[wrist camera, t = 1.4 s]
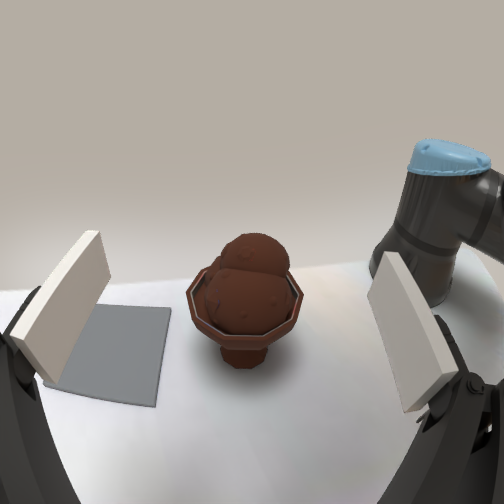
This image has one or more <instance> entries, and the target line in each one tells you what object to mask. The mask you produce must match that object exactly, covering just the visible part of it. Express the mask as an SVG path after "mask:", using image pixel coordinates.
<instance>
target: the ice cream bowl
mask: <svg viewBox="0 0 504 504" xmlns="http://www.w3.org/2000/svg"><path fill="white" fill-rule="evenodd" d="M289 263H290V262H289V256H288V254H287V252H286V250H285V248H284V247H283V246H282V245H281V244H280V243H279V242H278V241H277V240H275V239H273V238H272V237H270V236H267V235H265V234H260V233H249V234H242V235H241V236H239V237H237V238H236V239H235V240H233V241H232V242H230V243H228V244H227V245H226V246H225V247H224V249H223V250H222V252H221V256H218V257H217V258H216V259H215V261H214V262H213V263H212V265H211V266H209V267H206V268H204V269H202V270H201V271H200V272H199V273H198V275H197V276H196V278H195V279H194V281H193V282H192V284H191V285H190V287H189V288H188V289H187V291H186V296H187V300H188V305H189V309H190V313H191V318H192V320H193V322H194V324H195V326H196V328H197V329H198V330H200V331H201V332H202V333H203V334H205V335H206V336H208V337H209V338H211V339H212V340H214V341H215V342H217V343H218V344H220V345H221V348H220V350H221V353H222V356H223V359H224V361H225V362H227V363H228V364H230V365H231V366H233V367H234V368H237V369H252V368H253V367H255V366H257V365H258V364H260V363H262V362H263V361H264V359H265V356H266V353H267V350H268V349H267V347H266V346H268V345H270V344H271V343H273V342H275V341H276V340H278V339H279V338H281V337H283V336H284V335H286V334H287V333H288V332H290V331H291V330H292V329H293V327H294V325H295V323H296V322H297V318H298V314H299V311H300V307H301V303H302V300H303V296H304V294H303V292H302V291H301V289H300V287H299V286H298V284H297V283H296V281H295V280H294V278H293V276H292V275H291V273H290V272H289V271H288V270H289V267H290V264H289Z"/></svg>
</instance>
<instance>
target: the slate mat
mask: <svg viewBox="0 0 504 504" xmlns="http://www.w3.org/2000/svg"><path fill="white" fill-rule="evenodd" d="M170 315H171V308H170V307H143V306H123V305H107V304H96V305H95V307H94V308H93V310H92V312H91V314H90V316H89V318H88V320H87V322H86V324H85V325H84V327H83V329H82V331H81V333H80V335H79V337H78V339H77V341H76V343H75V345H74V348H73V350H72V352H71V354H70V356H69V358H68V360H67V362H66V365H65V367H64V369H63V371H62V374H61V376H60V378H59V380H58V383H57V385H56V384H53V383H50V382H48V381H45V380H44V381H43V385H44V386H46V387H50V388H53V389H57V390H61V391H65V392H69V393H73V394H77V395H82V396H86V397H91V398H96V399H101V400H107V401H113V402H119V403H125V404H132V405H139V406H147V407H155V405H156V398H157V391H158V384H159V378H160V371H161V365H162V359H163V353H164V347H165V342H166V336H167V331H168V325H169V320H170Z"/></svg>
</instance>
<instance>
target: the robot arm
mask: <svg viewBox="0 0 504 504" xmlns="http://www.w3.org/2000/svg"><path fill="white" fill-rule="evenodd" d="M407 169H408V173H407V177H406V181H405V185H404V189H403V192H402V196H401V200H400V203H399V207H398V210H397V214H396V217H395V220H394V223H393V225H392V227H391V228H390V229H389V231H388V233H387V234H386V235H385V236H384V238H383V239H382V241H381V242H380V243H379V244H378V245H377V246H376V247H375V249H374V251H373V254H372V258H371V260H370V272H371V275H372V277H373V279H374V280H373V282H372V285H371V287H370V290H369V292H368V295H367V297H368V300H369V303H370V305H371V308H372V311H373V314H374V316H375V319H376V322H377V325H378V328H379V331H380V334H381V337H382V340H383V343H384V346H385V349H386V352H387V355H388V358H389V361H390V365H391V368H392V371H393V375H394V378H395V382H396V385H397V389H398V392H399V396H400V400H401V403H402V407H403V411H404V413H407V412H412V411H417V410H420V409H421V408H422V407H423V406H425V405H426V404H427V403H428V405H429V408H430V409H429V410H428V411H426V412H425V413H424V414H423V415H422V416H421V417H420V418H418V420H417V421H416V422H417V423H419V422H420V421H421V420H422V419H423V421H422V423H421V425H420V427H419V430H418V432H417V434H416V436H415V438H414V440H413V442H412V444H411V446H410V448H409V450H408V452H407V454H406V456H405V458H404V460H403V462H402V463H401V465H400V467H399V469H398V471H397V472H396V474H395V476H394V478H393V479H392V481H391V483H390V484H389V486H388V487H387V489H386V491H385V492H384V494H383V495H382V497H381V498H380V500H379V501H378V503H377V504H504V379H503V380H501V381H500V382H499V383H498V384H497V385H489V384H485V383H484V381H483V380H482V378H481V377H480V376H478V375H477V374H475V373H472V372H470V373H469V371H468V369H467V366H466V364H465V362H464V359H463V357H462V355H461V353H460V351H459V348H458V346H457V344H456V343H455V340H454V338H453V336H452V335H451V332H450V330H449V328H448V326H447V324H446V323H445V322H444V321H443V319H442V318H441V317H440V316H439V315H433V314H432V312H431V310H430V307H434V306H437V305H438V304H440V303H441V302H442V301H443V300H444V299H445V297H446V295H447V293H448V292H449V290H450V288H451V284H452V273H453V270H454V265H455V259H456V254H457V252H458V250H459V247H460V245H461V243H462V242H463V243H466V244H467V245H469V246H471V247H473V248H475V249H477V250H479V251H481V252H482V253H484V254H486V255H488V256H490V257H491V258H493V259H495V260H496V261H498V262H500V263H501V264H503V265H504V175H503V174H501V173H499V172H496V171H494V170H493V169H491V160H490V158H489V157H488V156H487V155H485V154H484V153H482V152H479V151H476V150H474V149H472V148H470V147H467V146H464V145H461V144H457V143H453V142H449V141H444V140H437V139H424V140H421V141H419V142H418V143H417V144H416V145H415V148H414V151H413V154H412V158H411V161H410V164H409V165H408V167H407ZM110 278H111V275H110V271H109V267H108V263H107V260H106V256H105V252H104V248H103V244H102V240H101V235H100V231H91V230H86V232H85V233H84V234H83V235H82V236H81V237H80V239H79V240H78V241H77V242H76V243H75V244H74V246H73V247H72V248H71V249H70V250H69V252H68V253H67V254H66V255H65V257H64V258H63V259H62V260H61V262H60V263H59V264H58V265H57V267H56V268H55V269H54V271H53V272H52V273H51V274H50V276H49V277H48V278H47V280H46V281H45V282H44V284H43V285H42V286H38V287H37V288H36V289H34V290H33V291H32V292H31V293H30V294H29V295H28V297H27V298H26V300H25V301H24V303H23V304H22V305H21V307H20V308H19V310H18V311H17V313H16V314H15V316H14V317H13V319H12V320H11V322H10V323H9V325H8V327H7V328H6V330H5V331H4V333H3V334H1V333H0V504H81V503H80V501H79V499H78V497H77V495H76V493H75V491H74V489H73V487H72V485H71V482H70V480H69V478H68V476H67V474H66V471H65V469H64V467H63V464H62V462H61V459H60V457H59V454H58V452H57V449H56V446H55V444H54V441H53V438H52V435H51V432H50V429H49V426H48V423H47V420H46V416H45V413H44V409H43V406H42V402H41V398H40V394H39V390H38V386H37V382H36V380H35V378H34V375H35V373H36V372H37V373H38V374H39V376H40V377H41V378H42V379H43V380H45V381H48V382H50V383H53V384H56V385H57V383H58V380H59V378H60V376H61V374H62V371H63V369H64V367H65V365H66V362H67V360H68V358H69V356H70V354H71V352H72V350H73V348H74V345H75V343H76V341H77V339H78V337H79V335H80V333H81V331H82V329H83V327H84V325H85V324H86V322H87V320H88V318H89V316H90V314H91V312H92V310H93V308H94V307H95V305H96V303H97V301H98V299H99V297H100V296H101V294H102V292H103V290H104V289H105V287H106V285H107V283H108V282H109V280H110ZM491 424H492V431H490V432H488V427H489V426H490V425H491Z"/></svg>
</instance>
